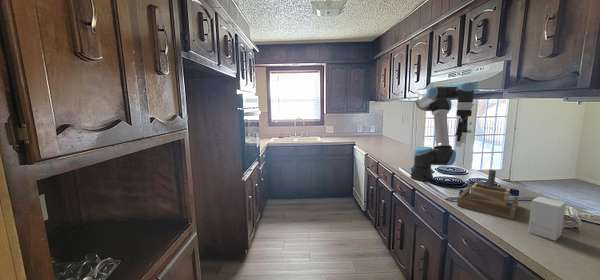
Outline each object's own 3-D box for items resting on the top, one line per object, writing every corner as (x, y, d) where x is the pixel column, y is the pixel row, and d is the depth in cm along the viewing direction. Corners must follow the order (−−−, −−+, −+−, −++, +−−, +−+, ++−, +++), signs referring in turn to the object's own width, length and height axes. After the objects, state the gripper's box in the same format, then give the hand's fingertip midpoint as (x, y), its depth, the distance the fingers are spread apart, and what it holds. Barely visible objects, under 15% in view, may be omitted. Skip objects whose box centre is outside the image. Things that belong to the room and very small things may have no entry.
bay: (466, 195, 156) (467, 186, 156) (517, 205, 140) (518, 196, 139) (457, 205, 141) (458, 196, 140) (513, 219, 124) (514, 208, 123)
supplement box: (562, 235, 110) (567, 202, 107) (555, 241, 105) (560, 207, 103) (534, 226, 117) (539, 195, 115) (527, 232, 112) (531, 199, 110)
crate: (474, 193, 153) (476, 166, 150) (508, 201, 142) (512, 171, 139) (470, 198, 145) (473, 169, 143) (506, 206, 134) (510, 175, 132)
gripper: (468, 111, 139) (463, 149, 143) (475, 108, 158) (471, 142, 162) (452, 110, 144) (448, 147, 148) (461, 107, 162) (457, 140, 166)
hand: (460, 144), depth 155 cm, fingers open, 13 cm apart
